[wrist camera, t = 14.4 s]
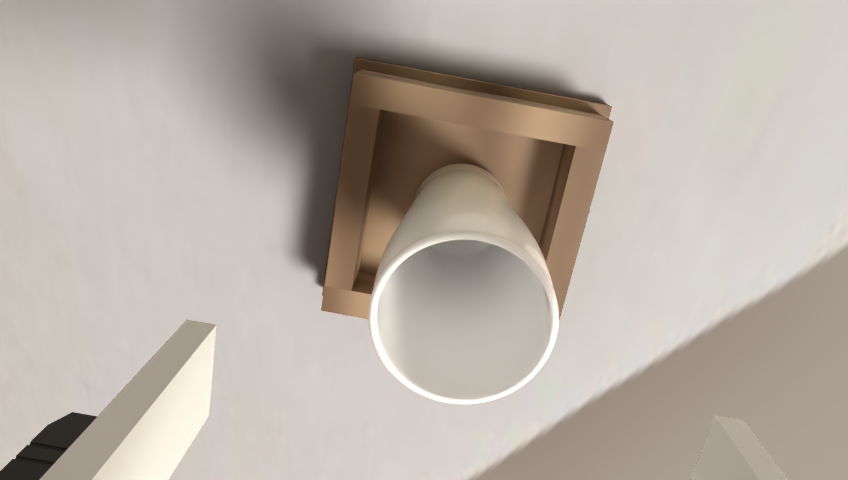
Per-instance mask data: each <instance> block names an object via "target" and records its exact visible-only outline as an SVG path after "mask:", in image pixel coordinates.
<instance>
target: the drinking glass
mask: <svg viewBox="0 0 848 480" xmlns="http://www.w3.org/2000/svg"><path fill="white" fill-rule="evenodd" d="M368 319H369V329H370V335H371V338H372V342H373V345H374V347H375V350H376V352H377V354H378V356H379V358H380V359H381V361H382V362H383V364H384V365H385V367H386V368H387V369H388V370H389V372H390V373H391V374H392V375H393V376H394V377H395V378H396V379H397V380H399V381H400V382H401V383H402V384H404V385H405V386H406V387H408V388H409V389H411V390H413V391H415V392H416V393H418V394H420V395H423V396H425V397H427V398H430V399H433V400H437V401H441V402H446V403H452V404H476V403H482V402H487V401H491V400H495V399H498V398H500V397H503V396H505V395H508V394H510V393H512V392H513V391H515V390H517V389H519V388H520V387H521V386H523V385H524V384H526V383H527V382H528V381H529V380H530V379H532V378H533V377H534V376H535V374H536V373H537V372H538V371H539V370H540V369H541V368H542V366H543V365H544V363H545V362H546V360H547V359H548V357H549V355H550V353H551V351H552V349H553V346H554V344H555V340H556V337H557V332H558V325H559V310H558V303H557V298H556V295H555V291H554V286H553V282H552V279H551V275H550V272H549V269H548V266H547V263H546V261H545V258H544V256H543V253H542V251H541V249H540V247H539V245H538V243H537V241H536V239H535V238H534V236H533V234H532V233H531V231H530V230H529V228H528V227H527V225H526V224H525V222H524V221H523V220H522V218H521V217H520V215H519V214H518V213H517V211H516V210H515V208H514V207H513V206H512V204H511V203H510V201H509V200H508V198H507V196H506V194H505V191H504V189H503V187H502V186H501V184H500V183H499V181H498V180H497V179H496V178H495V177H494V176H493V175H492V174H490V173H489V172H488V171H486V170H484V169H482V168H480V167H478V166H475V165H471V164H463V163H458V164H451V165H447V166H444V167H441V168H439V169H437V170H435V171H434V172H432V173H431V174H430V175H429V176H427V178H426V179H425V180H424V181H423V182H422V183H421V185H420V186H419V188H418V190H417V192H416V195H415V197H414V200H413V202H412V204H411V205H410V207H409V209H408V210H407V212H406V213H405V215H404V216H403V218H402V219H401V221H400V223H399V224H398V226H397V227H396V229H395V230H394V232H393V234H392V235H391V237H390V239H389V241H388V243H387V245H386V247H385V249H384V252H383V254H382V257H381V260H380V262H379V265H378V269H377V272H376V276H375V280H374V284H373V289H372V294H371V299H370V304H369V316H368Z"/></svg>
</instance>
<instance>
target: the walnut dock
mask: <svg viewBox="0 0 848 480" xmlns="http://www.w3.org/2000/svg"><path fill="white" fill-rule="evenodd" d="M611 108H612V107H611V106H609V105H606V104H601V103H596V102H590V101H585V100H580V99H575V98H569V97H564V96H559V95H553V94H548V93H543V92H537V91H532V90H527V89H521V88H516V87H511V86H505V85H500V84H495V83H490V82H484V81H479V80H474V79H468V78H463V77H458V76H452V75H447V74H442V73H436V72H431V71H426V70H420V69H415V68H410V67H405V66H399V65H394V64H389V63H383V62H378V61H373V60H367V59H362V58H355V61H354V68H353V76H352V83H351V90H350V97H349V105H348V112H347V119H346V126H345V133H344V141H343V148H342V155H341V162H340V170H339V177H338V184H337V191H336V199H335V206H334V213H333V220H332V228H331V235H330V242H329V249H328V257H327V264H326V271H325V278H324V286H323V293H322V296H323V301H322V309H321V310H322V311H327V312H333V313H338V314H343V315H349V316H354V317H360V318H365V319H368V316H369V304H370V299H371V294H372V289H373V284H374V280H375V276H376V272H377V269H378V265H379V262H380V260H381V257H382V254H383V252H384V249H385V247H386V245H387V243H388V241H389V239H390V237H391V235H392V234H393V232H394V230H395V229H396V227H397V226H398V224H399V223H400V221H401V219H402V218H403V216H404V215H405V213H406V212H407V210H408V209H409V207H410V205H411V204H412V202H413V200H414V197H415V195H416V192H417V190H418V188H419V186H420V185H421V183H422V182H423V181H424V180H425V179H426V178H427V176H429V175H430V174H431V173H432V172H434V171H435V170H437V169H439V168H441V167H444V166H447V165H451V164H458V163H463V164H471V165H475V166H478V167H480V168H482V169H484V170H486V171H488V172H489V173H490V174H492V175H493V176H494V177H495V178H496V179H497V180H498V181H499V183H500V184H501V186H502V187H503V189H504V191H505V194H506V196H507V198H508V200H509V201H510V203H511V204H512V206H513V207H514V208H515V210H516V211H517V213H518V214H519V215H520V217H521V218H522V220H523V221H524V222H525V224H526V225H527V227H528V228H529V230H530V231H531V233H532V234H533V236H534V238H535V239H536V241H537V243H538V245H539V247H540V249H541V251H542V253H543V256H544V258H545V261H546V263H547V266H548V269H549V272H550V275H551V279H552V282H553V286H554V291H555V295H556V298H557V303H558V310H559V319H560V316H561V312H562V308H563V305H564V301H565V297H566V294H567V290H568V286H569V283H570V279H571V275H572V272H573V268H574V264H575V261H576V257H577V253H578V250H579V246H580V243H581V239H582V235H583V232H584V228H585V224H586V221H587V217H588V213H589V210H590V206H591V202H592V199H593V195H594V191H595V188H596V184H597V180H598V177H599V173H600V169H601V166H602V162H603V159H604V155H605V151H606V148H607V144H608V140H609V137H610V133H611V129H612V126H613V121H611V120H609V116H610V112H611Z"/></svg>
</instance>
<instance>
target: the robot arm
mask: <svg viewBox="0 0 848 480" xmlns="http://www.w3.org/2000/svg"><path fill="white" fill-rule="evenodd" d="M215 335H216V325H214V324H209V323H203V322H197V321H192V320H186V321H185V322H184V323H183V324H182V325H181V327H180V328H179V329H178V330H177V331H176V332H175V333H174V334H173V335H172V336H171V337H170V338H169V340H168V341H167V342H166V343H165V344H164V345H163V346H162V347H161V348H160V349H159V350H158V351H157V353H156V354H155V355H154V356H153V357H152V358H151V359H150V360H149V361H148V362H147V363H146V365H145V366H144V367H143V368H142V369H141V370H140V371H139V372H138V373H137V374H136V375H135V376H134V378H133V379H132V380H131V381H130V382H129V383H128V384H127V385H126V386H125V387H124V388H123V389H122V391H121V392H120V393H119V394H118V395H117V396H116V397H115V398H114V399H113V400H112V401H111V403H110V404H109V405H108V406H107V407H106V408H105V409H104V410H103V411H102V412H101V413H100V414H99V416H98V417H96V416H91V415H85V414H79V413H74V412H72V413H70V414H68V415H66V416H64V417H62V418H60V419H59V420H57V421H55V422H53V423H51V424H49V425H47V426H46V427H45V428H44V429H43V430H42V431H41V432H40V433H39V434H38V435H37V436H36V437H35V438H34V439H33V440H32V441H31V443H30V445H27V446H26V447H25V448H24V449H23V450H22V451H21V452H20V453H19V454H18V455H17V456H16V459H12V460H11V461H10V462H9V463H8V464H7V465H6V466H5V467H4V468H3V469H2V470H1V471H0V480H168V479H169V478H170V476H171V475H172V473H173V472H174V470H175V468H176V467H177V465H178V464H179V462H180V460H181V459H182V457H183V456H184V454H185V453H186V451H187V449H188V448H189V446H190V445H191V443H192V442H193V440H194V438H195V437H196V435H197V434H198V432H199V430H200V429H201V427H202V426H203V424H204V423H205V421H206V419H207V418H208V416H209V410H210V397H211V385H212V373H213V360H214V348H215ZM690 480H788V479H787V477H786V476H785V475H784V473H783V472H782V471H781V470H780V468H779V467H778V465H777V464H776V463H775V461H774V460H773V459H772V457H771V456H770V455H769V453H768V452H767V451H766V449H765V448H764V447H763V446H762V444H761V443H760V442H759V440H758V439H757V437H756V436H755V435H754V433H753V432H752V431H751V429H750V428H749V427H748V425H747V424H746V423H745V421H744V420H740V419H735V418H729V417H724V416H718V415H715V416H714V419H713V421H712V423H711V426H710V429H709V431H708V434H707V436H706V439H705V442H704V445H703V447H702V450H701V452H700V455H699V458H698V460H697V463H696V465H695V468H694V471H693V474H692V476H691V478H690Z"/></svg>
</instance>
